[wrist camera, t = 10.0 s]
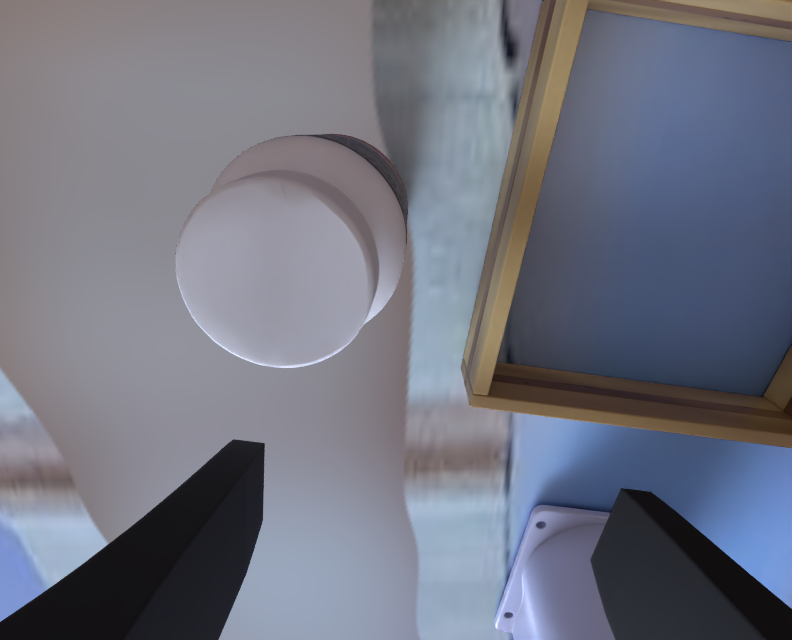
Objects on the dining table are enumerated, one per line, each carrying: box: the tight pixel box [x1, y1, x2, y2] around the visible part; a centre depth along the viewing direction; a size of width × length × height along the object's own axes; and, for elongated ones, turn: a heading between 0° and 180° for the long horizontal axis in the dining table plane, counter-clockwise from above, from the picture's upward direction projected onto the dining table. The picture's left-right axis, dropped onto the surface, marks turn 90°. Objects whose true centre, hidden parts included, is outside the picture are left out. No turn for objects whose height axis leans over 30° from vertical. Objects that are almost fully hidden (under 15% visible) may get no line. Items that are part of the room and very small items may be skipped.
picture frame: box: [461, 0, 792, 448], centre depth 15 cm, size 14×14×3 cm
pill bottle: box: [175, 134, 408, 368], centre depth 13 cm, size 5×5×9 cm
